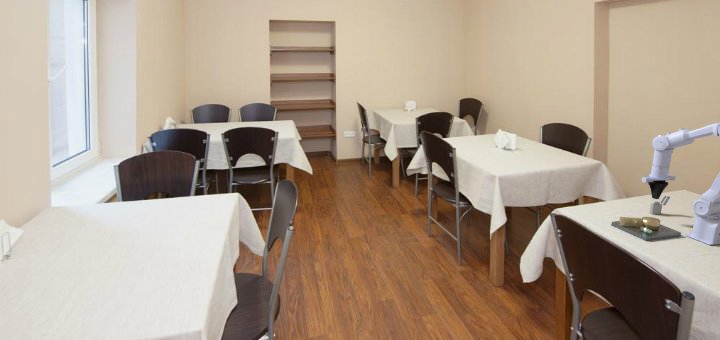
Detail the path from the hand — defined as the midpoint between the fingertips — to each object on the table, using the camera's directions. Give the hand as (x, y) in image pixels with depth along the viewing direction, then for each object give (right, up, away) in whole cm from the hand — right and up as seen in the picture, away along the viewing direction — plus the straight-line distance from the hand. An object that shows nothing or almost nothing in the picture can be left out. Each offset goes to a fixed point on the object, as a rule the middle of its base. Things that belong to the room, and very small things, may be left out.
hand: (655, 198), depth 180 cm
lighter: (+8, -7, +11) cm, 15 cm away
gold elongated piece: (-12, -10, -8) cm, 18 cm away
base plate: (-10, -12, -8) cm, 17 cm away
